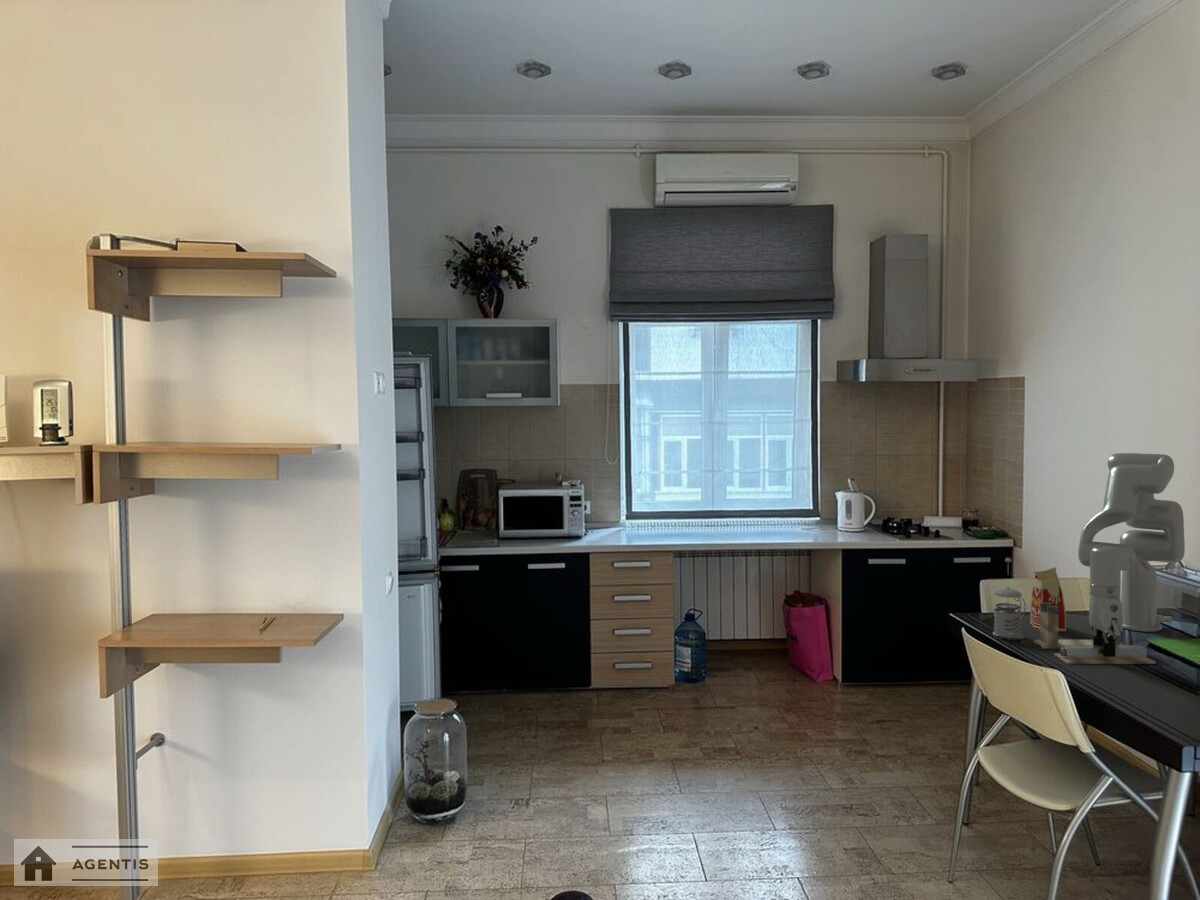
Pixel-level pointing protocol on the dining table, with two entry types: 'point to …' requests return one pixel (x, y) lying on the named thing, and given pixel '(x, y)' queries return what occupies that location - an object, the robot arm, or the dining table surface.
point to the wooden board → (1105, 661)
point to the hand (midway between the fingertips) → (1104, 653)
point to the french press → (1008, 613)
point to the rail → (1097, 652)
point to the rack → (1056, 629)
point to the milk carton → (1047, 597)
